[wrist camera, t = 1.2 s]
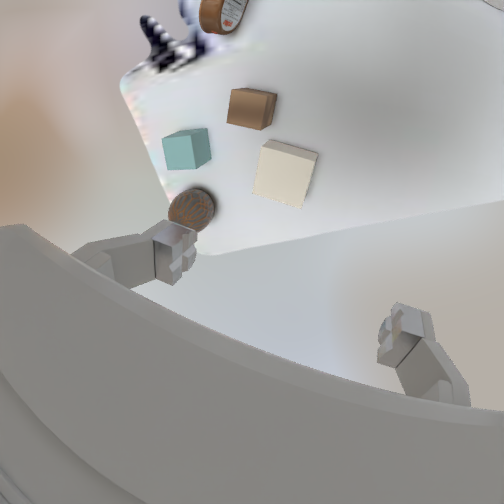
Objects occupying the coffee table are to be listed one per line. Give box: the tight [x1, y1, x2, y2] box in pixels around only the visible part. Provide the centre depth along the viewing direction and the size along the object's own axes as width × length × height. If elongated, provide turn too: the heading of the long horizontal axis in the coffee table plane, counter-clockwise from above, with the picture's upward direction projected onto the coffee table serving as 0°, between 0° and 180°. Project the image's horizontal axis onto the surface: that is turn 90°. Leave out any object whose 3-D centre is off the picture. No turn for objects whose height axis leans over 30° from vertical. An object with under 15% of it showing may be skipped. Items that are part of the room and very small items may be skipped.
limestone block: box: [252, 140, 318, 209], centre depth 36 cm, size 7×7×4 cm
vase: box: [168, 189, 214, 233], centre depth 43 cm, size 7×7×9 cm
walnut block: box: [227, 88, 277, 131], centre depth 32 cm, size 4×4×5 cm
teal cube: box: [162, 128, 211, 170], centre depth 38 cm, size 5×5×5 cm
